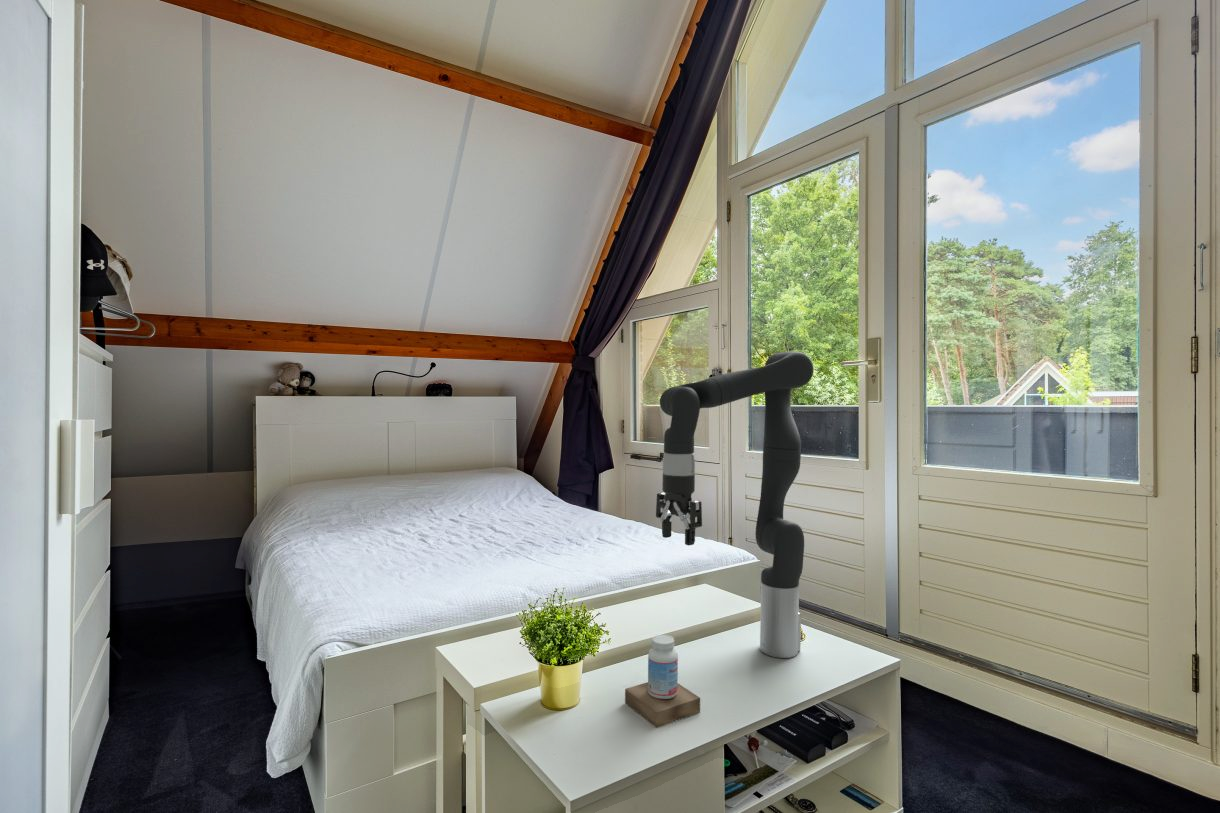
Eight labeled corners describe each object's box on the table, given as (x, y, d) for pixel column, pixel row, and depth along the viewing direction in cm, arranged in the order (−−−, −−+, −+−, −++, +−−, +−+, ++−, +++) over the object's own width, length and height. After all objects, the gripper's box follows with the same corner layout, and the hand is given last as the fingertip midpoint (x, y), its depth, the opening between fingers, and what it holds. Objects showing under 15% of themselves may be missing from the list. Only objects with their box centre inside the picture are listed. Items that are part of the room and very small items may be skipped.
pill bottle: (676, 702, 123) (676, 646, 123) (645, 698, 124) (646, 643, 124) (678, 687, 129) (679, 634, 129) (650, 684, 130) (650, 632, 130)
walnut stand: (667, 689, 134) (667, 676, 134) (700, 712, 125) (700, 697, 125) (625, 703, 128) (625, 688, 128) (656, 727, 119) (656, 712, 119)
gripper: (711, 474, 140) (710, 545, 140) (672, 467, 152) (671, 533, 152) (685, 477, 136) (684, 549, 136) (647, 469, 148) (647, 536, 148)
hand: (677, 540), depth 144 cm, fingers open, 8 cm apart
